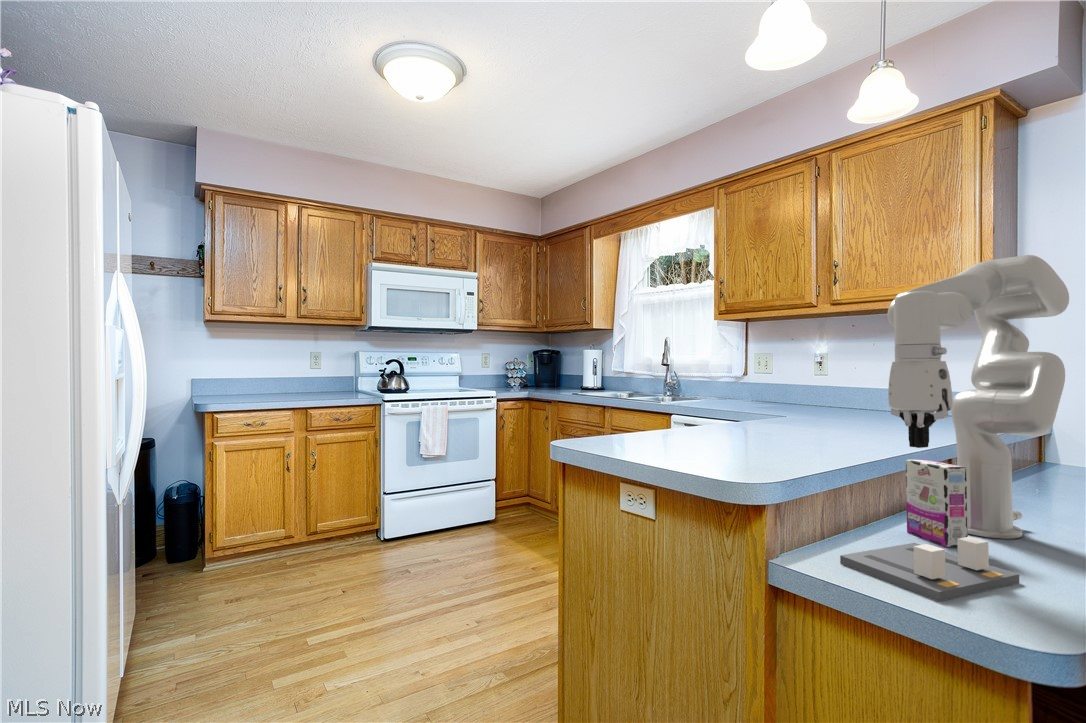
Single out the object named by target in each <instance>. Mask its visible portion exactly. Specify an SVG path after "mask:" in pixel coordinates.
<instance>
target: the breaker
mask: <svg viewBox="0 0 1086 723" xmlns="http://www.w3.org/2000/svg"><path fill="white" fill-rule="evenodd" d="M945 552H946V550H945V548H942V547H937V546H935V545H932V544H927V543H924V544H920V545H918V546H914V573H916V574H919V575H921V576H924V577H927V578H930V579H936V578H941V577H945Z"/></svg>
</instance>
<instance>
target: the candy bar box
mask: <svg viewBox="0 0 1086 723" xmlns="http://www.w3.org/2000/svg"><path fill="white" fill-rule="evenodd" d="M905 488H906V489H905V491H906V532H907V534H908V533H909V534H911V535H913V536H915V537H918V538H921V539H924V540H926V541H929V542H931V543H933V544H937V545H940V546H942V547H945V548H958V541H957V539H959V538H965V537H969V536H968V533H967V481H966V467H961V466H957V464H951V463H946V462H945V463H944V462H939V461H937V460H936V461H935V460H930V459H922V458H920V459H919V458H918V459H915V458H914V459H905Z"/></svg>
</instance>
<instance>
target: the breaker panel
mask: <svg viewBox="0 0 1086 723" xmlns="http://www.w3.org/2000/svg"><path fill="white" fill-rule="evenodd" d="M918 545H921V544H920V543H917V542H911V543H910V542H909V543H904V544H899V545H893V546H887V547H881V548H875V549H869V550H863V551H858V552H852V553H845V554H841V555H840V556H839V557H840V558H839V560H840V564H841V565H844V566H846V567H849V568H851V569H854V570H856V571H859V572H861V573H865V574H867V575H869V576H872V577H875V578H877V579H879V580H882V581H885V582H888V583H890V584H893V585H896V586H897V587H900V588H903V589H904V590H905V589H906V590H908V591H910V592H914V593H916V594H918V595H921V596H923V597H925V598H929V599H931V600H934V601H936V602H945V601H947V600H953V599H958V598H961V597H966V596H970V595H973V594H979V593H982V592H988V591H991V590H996V589H999V588H1004V587H1008V586H1013V585H1017V584H1020V574H1019V573H1017V572H1012V571H1009V570H1007V569H1002V568H1000V567H996V566H993V565H990V564H989V568H985V569H980V570H974V569H971V568H968V567H965V566H961V565H958V554H957V555H956V554H953V553H949V552H946V551H945V577H941V578H936V579H930V578H927V577H924V576H921V575H919V574H916V573H914V546H918Z"/></svg>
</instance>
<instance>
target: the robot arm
mask: <svg viewBox="0 0 1086 723" xmlns="http://www.w3.org/2000/svg"><path fill="white" fill-rule="evenodd" d="M1069 304H1070V293H1069V289H1068V288H1067V285H1066V284H1065V282H1064V281H1063V279H1062V278H1061V277H1060V276H1059V274H1057V272H1056V271H1055V269H1053V267H1052V266H1051V265H1050V264H1049V263H1048V262H1046V260H1044V259H1043V258H1041V257H1039V256H1036V255H1033V254H1024V255H1018V256H1011V257H1004V258H995V259H989V260H986V261H984V260H983V261H981V262H978V263H975V264H974V265H973V264H972V266H970V267H968V268H967V269H965V270H963V271H961V272H960V273H958V274H956V275H954V276H952V277H947V278H944V279H940V280H938V281H935V282H932V283H929V284H926V285H921V286H919V287H915V288H912V289H910V290H907V291H906V292H901V293H899V294H897V295H896V296H895V298H894V299H893V300H892V301H891V303H890V305H889V307H888V308H887V314H886V315H887V321H888V323H889V325H890V326H891V327H892V328H893V329H894V361H892V362H891V366H890V370H889V371H890V372H889V378H888V397H887V398H888V399H887V400H888V405H889V407H890V415H892V416H896V417H898V418H901V420H903V421H904V425H905V426H906V427H908V430H907V431H908V441H909V442H908V443H909V444H908V445H909V447H910V448H916V449H923V448H928V447H929V445H930V444H929V443H930V428H932V426H933V424H934V423H936V422H937V421H939V420H946V419H949V417H950V416H949V412H950V414H951V419H952V422H953V427H954V432H955V439H956V440H955V442H956V466H961V467H966V481H967V535H973V536H977V537H978V536H979V537H985V538H992V539H1001V540H1003V539H1004V540H1005V539H1007V540H1008V539H1009V540H1010V539H1013V540H1014V539H1019V538H1021V537H1023V529H1021V528H1019V527H1018V526H1015V525H1014V521H1017V520H1021V519H1022V518H1023V515H1022V512H1020V511H1019V510H1014V511H1013V506H1014V505H1013V468H1012V465H1013V461H1012V460H1013V459H1012V457H1013V456H1012V453H1011V451H1010V449H1009V447H1008V445H1007V444H1006V443H1005V442H1004V440H1002V438H1001V437H1000V434H1001V435H1002V434H1003V435H1016V436H1030V437H1031V436H1032V437H1038V436H1043V435H1046V434H1048V433H1049V432H1050V431H1051V429H1052V428H1053V425H1054V423H1055V420H1056V416H1057V412H1058V409H1059V405H1060V402H1061V398H1062V395H1063V390H1064V387H1065V382H1066V369H1065V365H1064V362H1063V360H1062V359H1061V358H1060V357H1059V355H1056V354H1054V353H1052V352H1047V351H1028V350H1029V347H1030V341H1029V338H1028V337H1027V336H1026V334H1025V333H1024V332H1023V331H1022V330H1021V329H1019V327H1017V326H1015V325H1014V324H1012V323H1010V321H1009V320H1019V319H1020V320H1023V319H1033V318H1034V319H1037V318H1049V317H1051V318H1052V317H1055V316H1058V315H1061V314H1062V313H1064V312H1065V311H1066V310H1067V309H1068V306H1069ZM973 313H974V317H975V321H976V323H977V326H978V330H979V331H980V334H981V338H982V340H981V344H980V348H979V350H978V354H977V356H976V359H975V362H974V364H973V367H972V370H971V374H970V375H971V376H970V378H971V379H970V381H971V383H972V386H973V387H974V388H975V389H966V390H963V391H960V392H958V393H957V394H956V395H954V396H953V390H952V381H951V376H950V371H949V369H948V365H947V361H946V360H942V355H947V352H948V350H947V348H946V347H942V343H941V339H942V338H941V330H942V331H943V330H954V329H958V328H961V327H964V326H965V325H967V323H968V322H970V320H971V318H972V316H973ZM998 434H999V435H998Z"/></svg>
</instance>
